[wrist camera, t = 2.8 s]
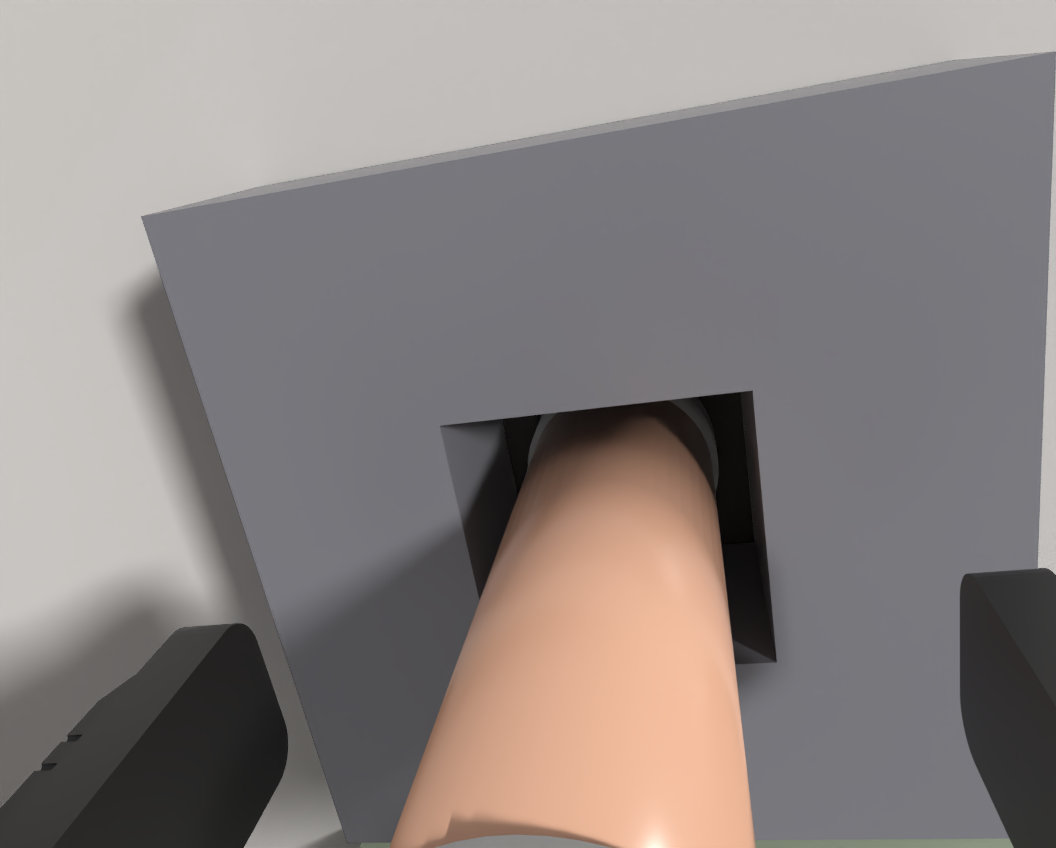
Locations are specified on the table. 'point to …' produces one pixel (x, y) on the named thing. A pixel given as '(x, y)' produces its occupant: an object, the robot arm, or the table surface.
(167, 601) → the table surface
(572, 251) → the grey flat square piece
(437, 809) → the peg
